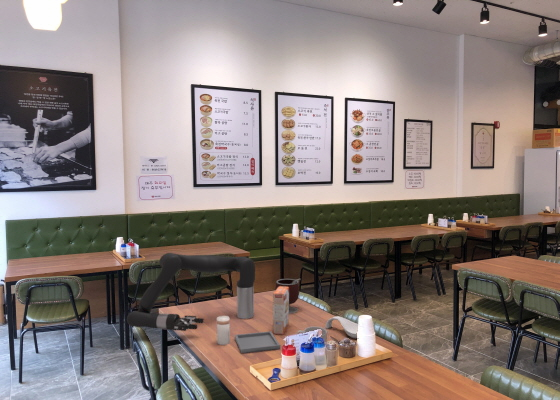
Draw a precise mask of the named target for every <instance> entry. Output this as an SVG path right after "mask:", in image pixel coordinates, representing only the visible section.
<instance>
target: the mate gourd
mask: <svg viewBox="0 0 560 400" xmlns="http://www.w3.org/2000/svg"><path fill="white" fill-rule="evenodd" d="M299 281H301V278H298V279H293V278H281V279H278V280H276V284H275V289H274V290H275V291H276V289H277V288H278V287H279V286H282V287H289V315H292V313H293V314H296V313H298V312H299V309H298V307H296V306H291V305H293V304H295V303H296V302H297V301H298V300H299V297H300V283H299ZM275 291H274V292H275ZM297 311H298V312H297Z"/></svg>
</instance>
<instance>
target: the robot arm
mask: <svg viewBox="0 0 560 400" xmlns="http://www.w3.org/2000/svg"><path fill="white" fill-rule="evenodd" d="M159 265H160V268H161V271H160V273H159V274H158V275H157V277H156V279H155V280H154V281H153V282H152V283H151V284H150V286H148V287H147V288H146V290H145V292H144V293H143V295H142V296H141V298H140V299H139V302H138V310H137V311H132V312H130V313H128V315H127V316H126V322H127V325H129V326H131V327H135V328H141V327H142V328H143V327H144V328H151V329H160V330H169V331H182V332H186V331H188V330H197V329H198V324H203V323H204V318H202V317H197V315H184V316H183V317H181V316H180V314H178V313H167V312H165V313H157V312H151V311H152V310H153V307H154V305H155V304H156V302H157V301H158V299H159V297H160V295H161V294H162V293H163V291H164V290H165V288H166V287H167V286H168V284H169V283H170V281H171V280H172V279H173V277H175V275H176V274H177V273H178V271H180V270H189V271H193V272H197V273H205V274H206V273H207V274H216V273H221V272H224V271H227V272H228V271H229V272H231V271H232V272H237V273H239V279H238V280H237V281H236V305H237V307H236V309H237V310H236V312H237V313H236V314H237V315H236V316H237V318H238V319H244V320H247V319H252V318H254V314H255V312H254V311H255V310H254V309H255V307H254V306H255V304H254V299H255V298H254V296H255V295H254V294H255V292H254V288H255V287H254V283H255V280H256V264H255V261H254V260H253V259H251V258H249V257H247V256H230V257H229V256H219V255H210V254H209V255H208V254H195V255H194V254H193V255H191V254H189V255H187V254H179V253H173V252H166V253H164V254H163V255H161V257H160V258H159Z"/></svg>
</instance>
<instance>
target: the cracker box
mask: <svg viewBox="0 0 560 400" xmlns="http://www.w3.org/2000/svg"><path fill="white" fill-rule="evenodd" d="M272 299H273V300H272V301H273V302H272V303H273V304H272V305H273V307H272V308H273V309H272V311H273V312H272V334H273V335H284V334H285V333H286V331H287V329H288V327H289V323H290V322H289V316H290V314H289V287H282V286H279V287H278V288H277V289H276V291H274V292H273V297H272Z"/></svg>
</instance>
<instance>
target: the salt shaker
mask: <svg viewBox="0 0 560 400" xmlns="http://www.w3.org/2000/svg"><path fill="white" fill-rule="evenodd" d="M230 321H231V319H230V316H228V315H219V316H217V317H216V344H217V345H219V346H227V345H229V344H230V342H231V341H230V340H231V335H230V332H231V331H230V329H231V325H230V323H231V322H230Z"/></svg>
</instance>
